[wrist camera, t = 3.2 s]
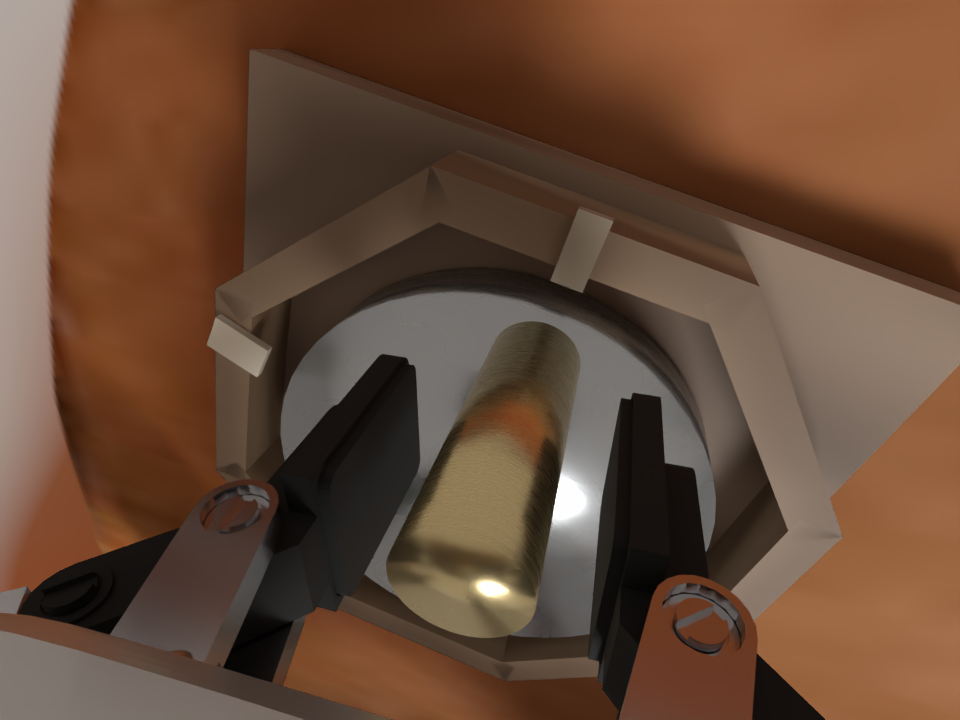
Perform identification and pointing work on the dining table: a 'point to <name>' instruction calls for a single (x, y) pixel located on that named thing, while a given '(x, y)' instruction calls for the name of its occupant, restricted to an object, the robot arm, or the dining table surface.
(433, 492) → the dial
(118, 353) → the dining table surface
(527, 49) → the dining table surface
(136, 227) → the dining table surface
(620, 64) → the dining table surface
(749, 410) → the dial housing
